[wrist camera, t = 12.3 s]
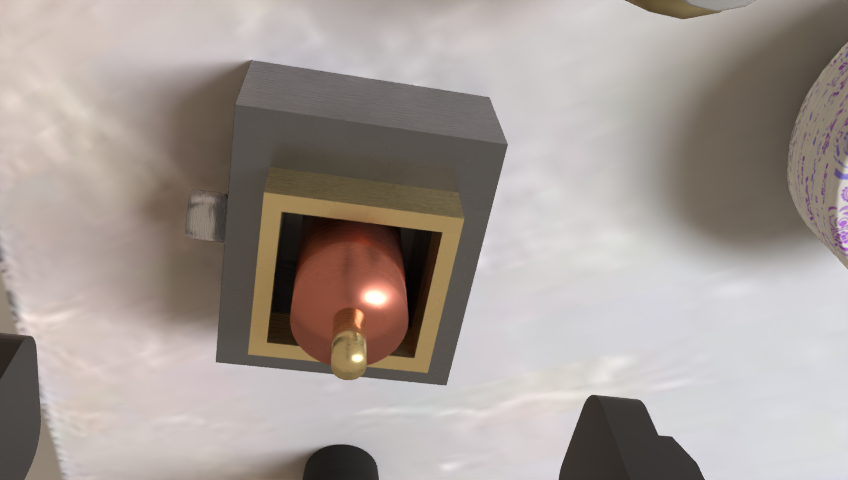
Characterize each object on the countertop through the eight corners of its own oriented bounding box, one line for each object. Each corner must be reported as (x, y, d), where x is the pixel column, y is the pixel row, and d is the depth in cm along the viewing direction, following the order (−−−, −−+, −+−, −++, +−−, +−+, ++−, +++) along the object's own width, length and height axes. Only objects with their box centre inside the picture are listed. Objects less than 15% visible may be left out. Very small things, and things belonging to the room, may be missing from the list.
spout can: (309, 161, 42) (291, 306, 30) (406, 175, 42) (422, 321, 31) (299, 245, 44) (278, 408, 33) (390, 256, 45) (400, 419, 33)
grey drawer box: (209, 53, 39) (175, 119, 32) (489, 97, 42) (516, 168, 34) (196, 291, 46) (165, 390, 39) (437, 319, 48) (450, 418, 41)
